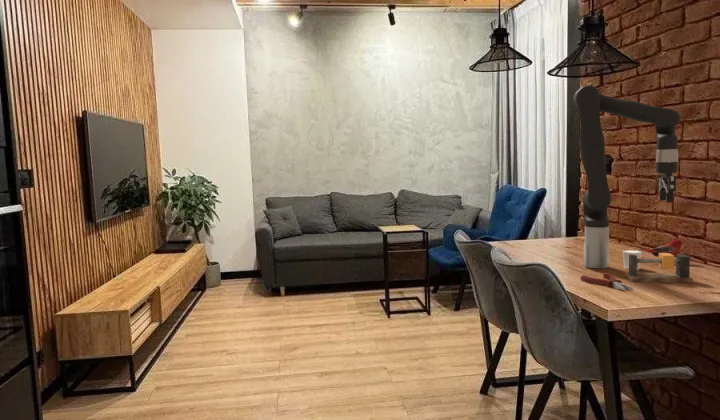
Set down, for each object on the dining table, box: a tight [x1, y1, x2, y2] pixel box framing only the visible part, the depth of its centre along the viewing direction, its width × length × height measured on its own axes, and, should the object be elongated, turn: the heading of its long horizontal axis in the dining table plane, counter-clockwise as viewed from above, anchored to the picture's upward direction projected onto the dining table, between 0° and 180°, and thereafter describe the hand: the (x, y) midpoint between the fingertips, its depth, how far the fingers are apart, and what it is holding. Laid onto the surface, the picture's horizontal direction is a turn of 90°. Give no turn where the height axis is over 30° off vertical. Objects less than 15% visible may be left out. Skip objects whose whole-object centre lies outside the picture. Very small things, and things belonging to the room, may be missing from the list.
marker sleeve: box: [657, 253, 675, 270], centre depth 180 cm, size 4×5×5 cm
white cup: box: [622, 249, 642, 270], centre depth 200 cm, size 7×7×7 cm
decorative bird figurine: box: [639, 238, 685, 258], centre depth 208 cm, size 3×18×10 cm, turn 83°
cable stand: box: [625, 254, 694, 284], centre depth 181 cm, size 20×8×9 cm, turn 75°
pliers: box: [580, 272, 634, 292], centre depth 177 cm, size 12×20×3 cm, turn 9°
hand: (666, 201), depth 196 cm, fingers open, 8 cm apart
